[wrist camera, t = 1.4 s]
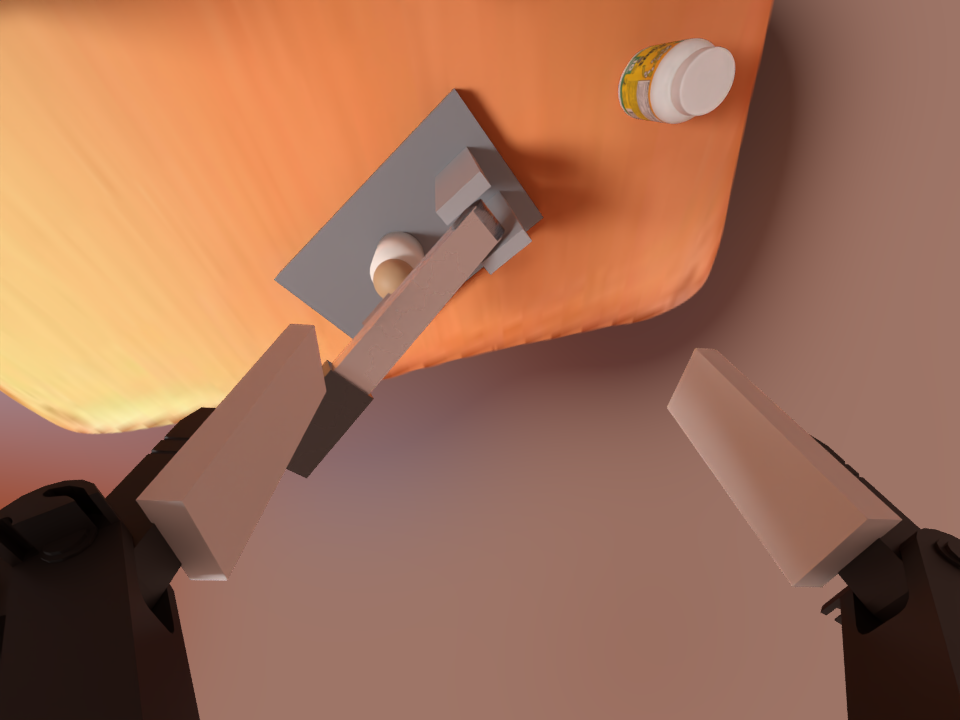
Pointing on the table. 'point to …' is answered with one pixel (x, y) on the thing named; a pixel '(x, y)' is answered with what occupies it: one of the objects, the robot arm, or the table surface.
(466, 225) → the press lever
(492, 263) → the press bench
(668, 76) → the supplement bottle
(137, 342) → the table surface
